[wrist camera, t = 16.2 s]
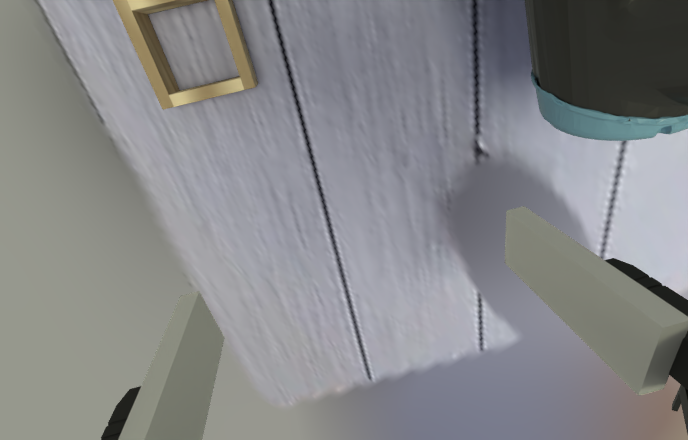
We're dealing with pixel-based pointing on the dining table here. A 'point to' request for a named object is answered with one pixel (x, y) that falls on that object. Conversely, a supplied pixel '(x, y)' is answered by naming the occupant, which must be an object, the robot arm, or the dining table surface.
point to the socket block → (134, 9)
